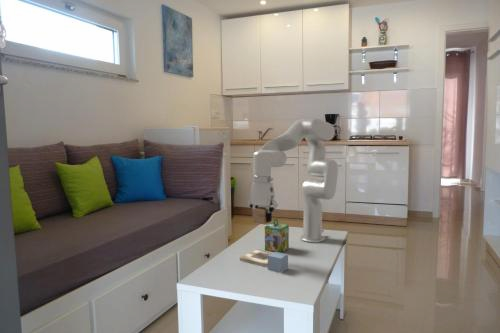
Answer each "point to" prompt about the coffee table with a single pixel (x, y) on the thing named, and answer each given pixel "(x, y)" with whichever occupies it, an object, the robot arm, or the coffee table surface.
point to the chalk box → (276, 237)
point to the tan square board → (257, 257)
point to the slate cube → (278, 262)
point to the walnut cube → (260, 215)
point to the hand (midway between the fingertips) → (262, 220)
